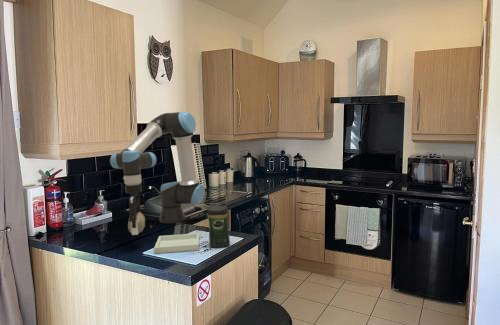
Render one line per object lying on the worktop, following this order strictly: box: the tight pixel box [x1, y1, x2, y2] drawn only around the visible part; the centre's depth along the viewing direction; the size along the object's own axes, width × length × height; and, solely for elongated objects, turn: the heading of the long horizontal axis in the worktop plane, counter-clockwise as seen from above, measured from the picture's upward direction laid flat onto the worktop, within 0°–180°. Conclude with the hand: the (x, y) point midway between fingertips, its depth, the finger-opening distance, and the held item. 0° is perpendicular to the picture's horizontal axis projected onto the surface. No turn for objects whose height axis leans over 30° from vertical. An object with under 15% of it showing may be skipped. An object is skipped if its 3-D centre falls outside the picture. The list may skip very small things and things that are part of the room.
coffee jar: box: [206, 205, 231, 248], centre depth 177 cm, size 10×8×19 cm
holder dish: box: [153, 232, 200, 255], centre depth 179 cm, size 19×19×3 cm
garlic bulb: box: [127, 212, 146, 234], centre depth 179 cm, size 9×8×10 cm
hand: (136, 231), depth 179 cm, fingers closed on garlic bulb, 9 cm apart
